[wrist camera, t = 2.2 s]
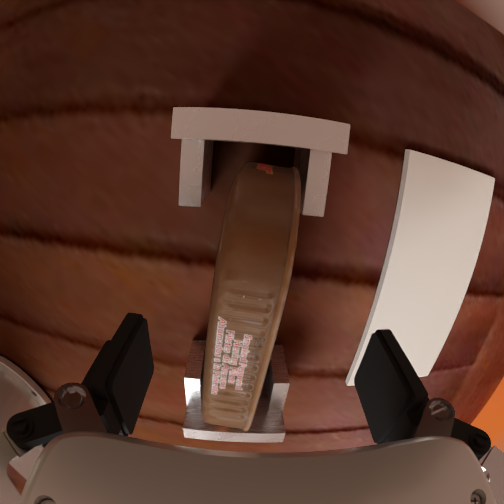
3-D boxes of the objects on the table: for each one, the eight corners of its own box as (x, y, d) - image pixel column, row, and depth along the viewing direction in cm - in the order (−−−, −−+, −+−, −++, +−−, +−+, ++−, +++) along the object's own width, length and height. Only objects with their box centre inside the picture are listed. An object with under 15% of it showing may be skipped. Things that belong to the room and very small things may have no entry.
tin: (249, 365, 21) (252, 457, 14) (208, 360, 21) (197, 452, 13) (289, 162, 16) (332, 181, 8) (235, 153, 16) (227, 162, 8)
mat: (424, 371, 23) (427, 375, 22) (345, 381, 22) (347, 385, 22) (490, 176, 16) (495, 178, 16) (405, 149, 16) (409, 149, 15)
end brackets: (313, 130, 15) (350, 124, 10) (275, 383, 22) (282, 442, 17) (197, 119, 15) (173, 107, 9) (194, 378, 22) (184, 437, 16)
